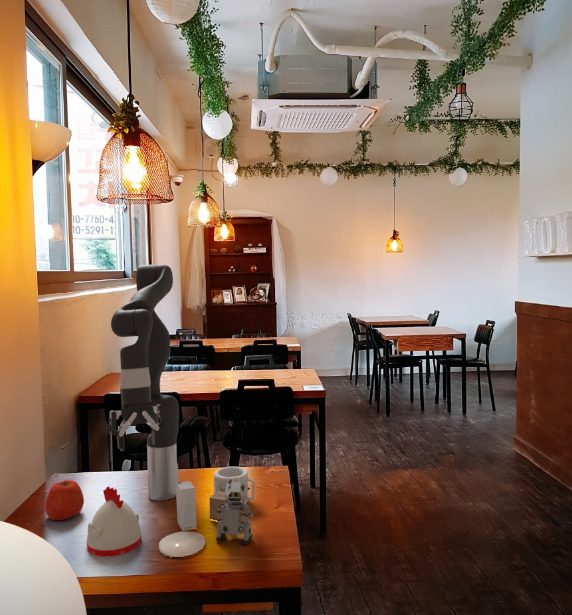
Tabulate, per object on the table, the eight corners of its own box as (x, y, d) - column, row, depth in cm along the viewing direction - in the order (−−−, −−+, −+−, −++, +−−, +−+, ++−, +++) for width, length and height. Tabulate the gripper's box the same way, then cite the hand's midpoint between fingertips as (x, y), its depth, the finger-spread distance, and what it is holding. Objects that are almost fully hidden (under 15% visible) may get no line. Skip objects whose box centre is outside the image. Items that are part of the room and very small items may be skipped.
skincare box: (197, 529, 149) (196, 487, 149) (181, 532, 147) (180, 490, 147) (191, 520, 155) (190, 479, 154) (176, 523, 153) (175, 482, 152)
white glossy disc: (175, 532, 148) (175, 528, 148) (213, 539, 143) (213, 535, 143) (149, 552, 137) (149, 548, 137) (189, 561, 132) (189, 557, 132)
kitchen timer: (122, 526, 152) (121, 475, 151) (151, 541, 143) (150, 486, 142) (76, 545, 141) (75, 490, 140) (105, 562, 132) (104, 504, 131)
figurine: (258, 529, 149) (258, 477, 148) (245, 549, 138) (245, 493, 137) (228, 525, 151) (227, 474, 151) (213, 545, 140) (212, 490, 140)
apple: (70, 525, 152) (69, 489, 152) (36, 522, 154) (35, 486, 154) (91, 509, 163) (90, 475, 162) (59, 506, 165) (58, 473, 164)
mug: (207, 506, 164) (207, 475, 164) (224, 493, 174) (224, 464, 174) (247, 514, 159) (246, 481, 159) (262, 500, 169) (261, 469, 169)
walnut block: (218, 513, 159) (217, 491, 159) (232, 516, 158) (232, 493, 157) (209, 520, 155) (209, 497, 154) (225, 523, 153) (224, 500, 152)
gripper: (156, 382, 146) (160, 441, 145) (104, 387, 138) (107, 450, 137) (166, 383, 140) (170, 445, 139) (112, 389, 132) (115, 454, 131)
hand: (138, 447), depth 138 cm, fingers open, 8 cm apart
